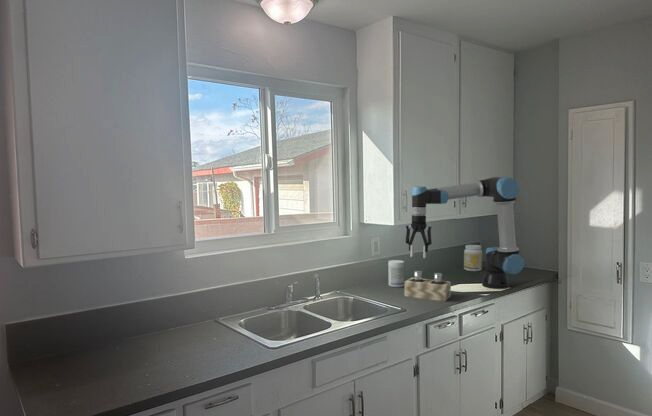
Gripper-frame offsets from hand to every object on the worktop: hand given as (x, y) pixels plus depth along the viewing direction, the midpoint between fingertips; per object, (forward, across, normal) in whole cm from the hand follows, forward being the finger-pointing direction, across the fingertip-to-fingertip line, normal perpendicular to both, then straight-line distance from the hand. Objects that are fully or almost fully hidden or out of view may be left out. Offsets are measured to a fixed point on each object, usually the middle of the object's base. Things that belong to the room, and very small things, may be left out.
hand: (418, 257), depth 253 cm
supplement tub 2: (+21, +14, +86) cm, 90 cm away
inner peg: (+16, +11, 0) cm, 19 cm away
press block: (+21, +6, 0) cm, 22 cm away
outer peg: (+16, 0, 0) cm, 16 cm away
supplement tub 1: (+21, -18, +15) cm, 31 cm away
